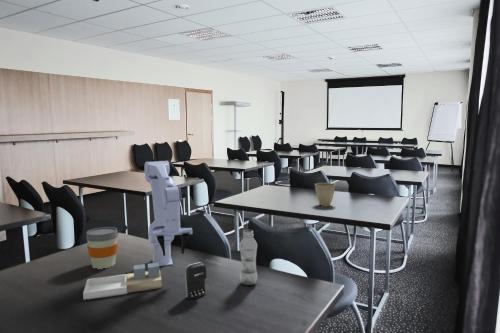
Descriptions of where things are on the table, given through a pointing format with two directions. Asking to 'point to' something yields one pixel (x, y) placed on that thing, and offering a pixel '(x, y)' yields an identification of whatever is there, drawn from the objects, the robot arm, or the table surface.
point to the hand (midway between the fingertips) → (173, 253)
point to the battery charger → (195, 280)
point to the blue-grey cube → (153, 270)
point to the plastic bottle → (248, 258)
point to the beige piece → (143, 283)
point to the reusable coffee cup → (102, 246)
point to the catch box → (105, 286)
